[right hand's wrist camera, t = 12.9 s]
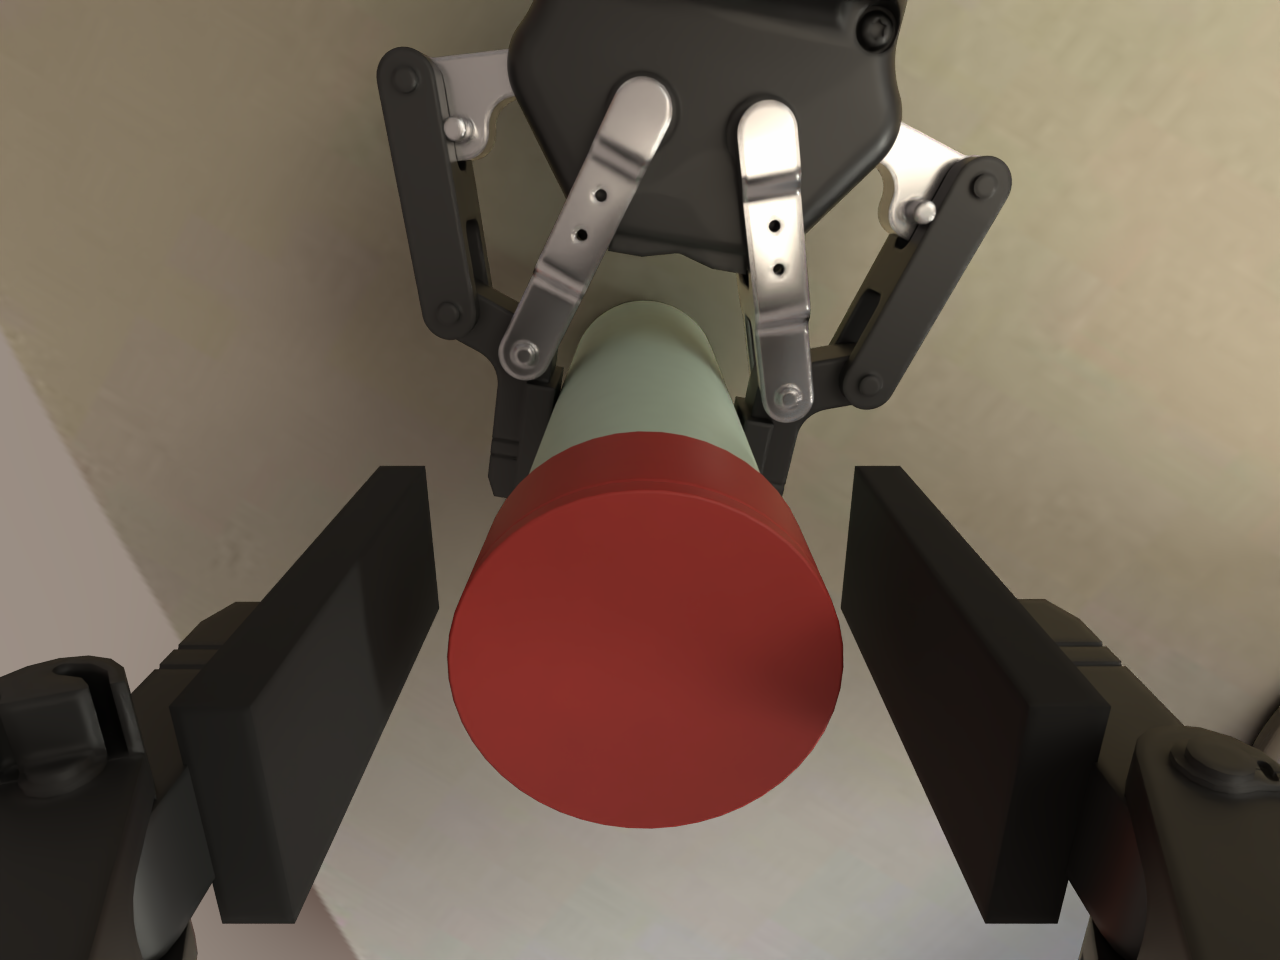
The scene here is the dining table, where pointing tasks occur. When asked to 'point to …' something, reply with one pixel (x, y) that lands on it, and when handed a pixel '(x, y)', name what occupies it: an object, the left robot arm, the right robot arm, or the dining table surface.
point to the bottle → (644, 383)
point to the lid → (645, 635)
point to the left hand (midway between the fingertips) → (628, 524)
